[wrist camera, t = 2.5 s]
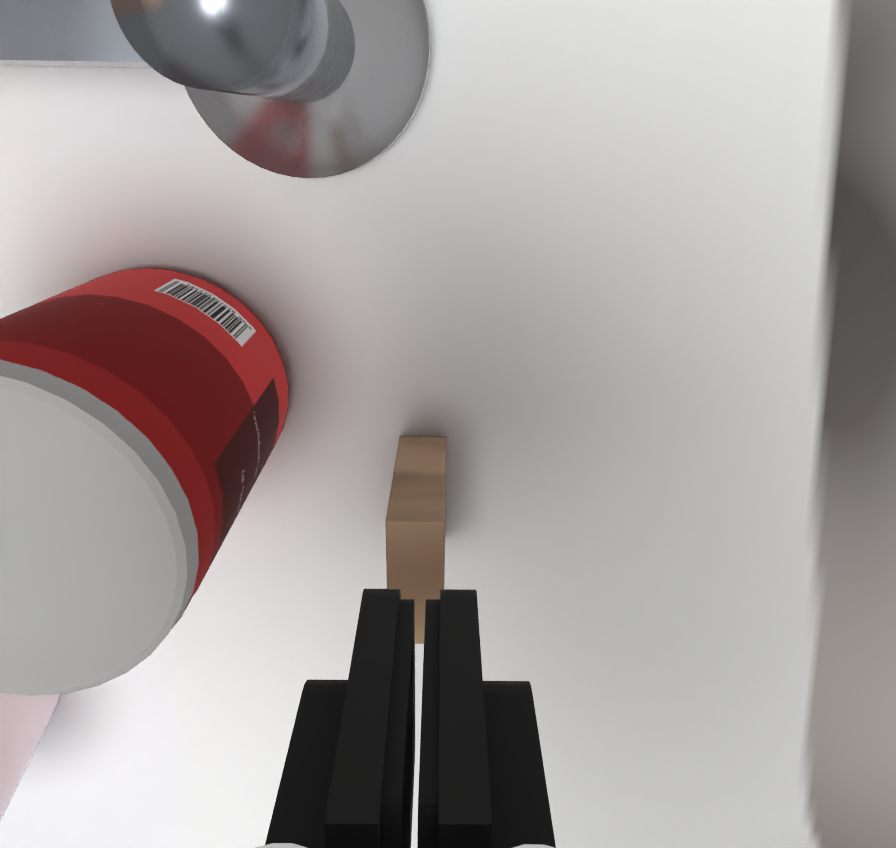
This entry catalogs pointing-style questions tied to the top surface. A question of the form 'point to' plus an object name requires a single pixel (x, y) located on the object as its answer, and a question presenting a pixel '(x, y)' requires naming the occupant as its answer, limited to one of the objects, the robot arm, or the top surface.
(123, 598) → the canned food
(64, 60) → the double handled crank lever
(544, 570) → the top surface
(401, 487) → the brown wooden block
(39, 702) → the smoothie
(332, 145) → the pivot base
